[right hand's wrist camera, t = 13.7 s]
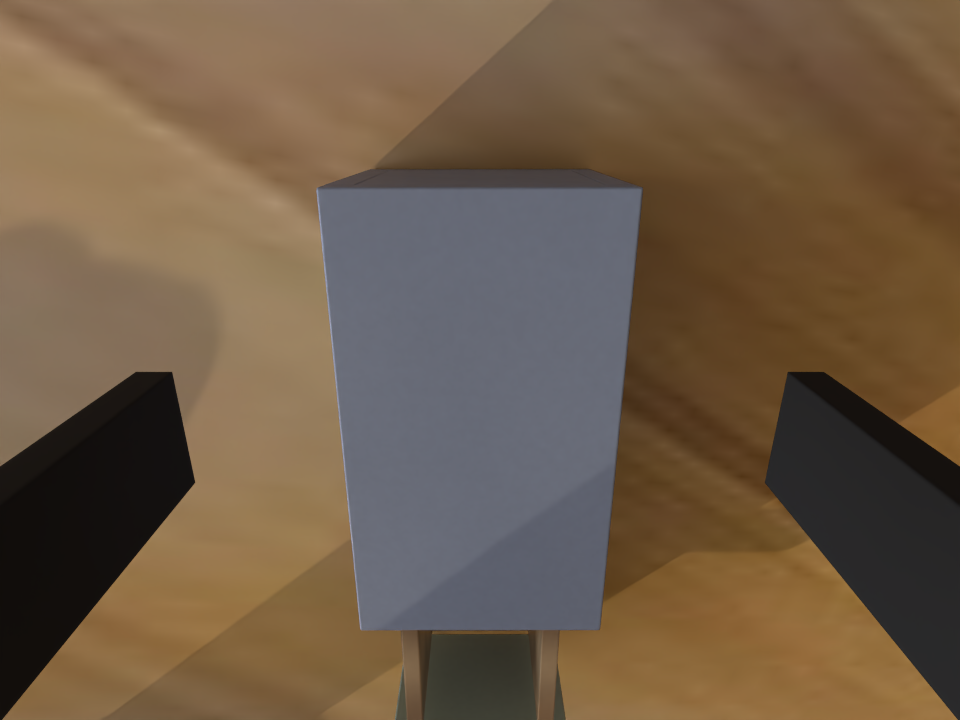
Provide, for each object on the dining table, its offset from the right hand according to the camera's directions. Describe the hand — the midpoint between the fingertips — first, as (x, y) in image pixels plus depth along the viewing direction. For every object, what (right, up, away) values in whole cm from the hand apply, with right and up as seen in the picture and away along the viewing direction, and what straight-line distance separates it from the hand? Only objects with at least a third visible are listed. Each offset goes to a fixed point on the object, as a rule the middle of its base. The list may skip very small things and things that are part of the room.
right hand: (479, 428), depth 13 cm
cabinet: (0, +2, +17) cm, 18 cm away
